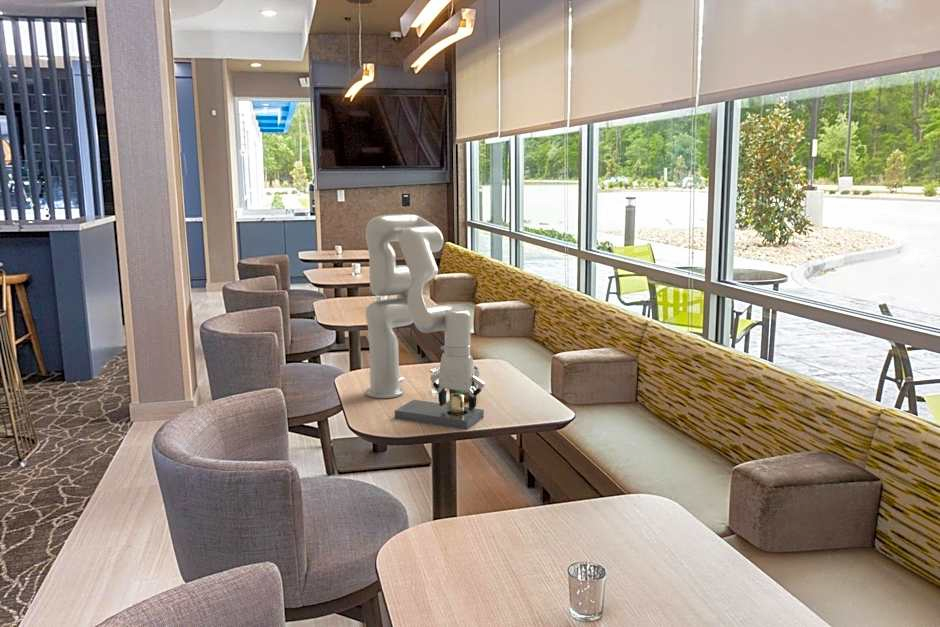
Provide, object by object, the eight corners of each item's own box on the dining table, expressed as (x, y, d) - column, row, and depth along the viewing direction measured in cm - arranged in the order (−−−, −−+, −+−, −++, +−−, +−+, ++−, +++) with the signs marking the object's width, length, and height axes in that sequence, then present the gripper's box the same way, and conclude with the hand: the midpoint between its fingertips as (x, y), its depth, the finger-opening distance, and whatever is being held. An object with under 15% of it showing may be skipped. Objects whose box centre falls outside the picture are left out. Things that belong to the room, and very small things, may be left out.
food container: (458, 406, 245) (458, 375, 243) (446, 401, 250) (446, 371, 248) (487, 398, 253) (487, 369, 251) (474, 394, 258) (475, 365, 256)
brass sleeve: (454, 417, 234) (454, 391, 232) (466, 419, 232) (466, 393, 231) (448, 421, 230) (448, 395, 229) (460, 423, 228) (460, 397, 227)
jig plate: (413, 407, 244) (413, 399, 243) (483, 417, 234) (483, 409, 234) (394, 418, 233) (394, 410, 233) (467, 429, 223) (467, 421, 223)
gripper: (425, 350, 227) (425, 406, 230) (479, 356, 220) (478, 414, 223) (436, 345, 234) (437, 399, 237) (489, 351, 227) (488, 407, 230)
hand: (457, 406), depth 230 cm, fingers open, 9 cm apart
